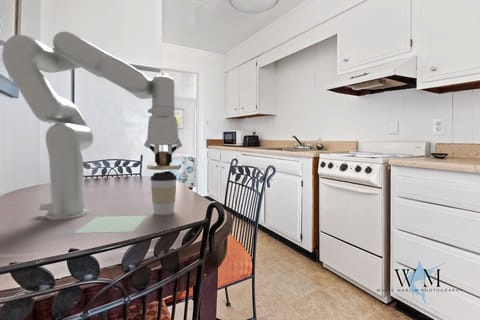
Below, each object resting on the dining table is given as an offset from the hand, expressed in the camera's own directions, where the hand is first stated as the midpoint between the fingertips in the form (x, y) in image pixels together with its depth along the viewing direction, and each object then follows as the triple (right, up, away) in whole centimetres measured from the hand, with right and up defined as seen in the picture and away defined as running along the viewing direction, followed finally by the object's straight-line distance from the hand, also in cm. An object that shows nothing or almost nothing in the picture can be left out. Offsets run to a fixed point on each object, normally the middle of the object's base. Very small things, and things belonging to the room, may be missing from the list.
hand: (163, 164), depth 92 cm
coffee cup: (0, -18, +1) cm, 18 cm away
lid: (0, -1, 0) cm, 1 cm away
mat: (-12, -18, -12) cm, 25 cm away
